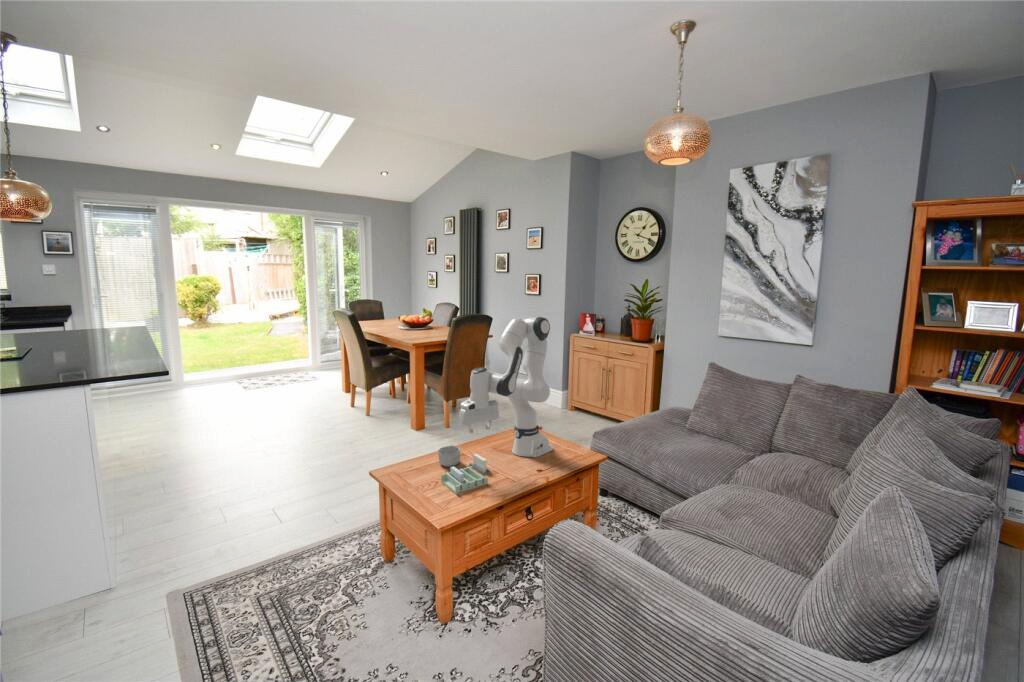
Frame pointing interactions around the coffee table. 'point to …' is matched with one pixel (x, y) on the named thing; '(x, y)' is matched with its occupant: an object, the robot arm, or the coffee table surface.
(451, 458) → the teacup
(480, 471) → the stand
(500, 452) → the coffee table surface
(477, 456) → the plate
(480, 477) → the rack
